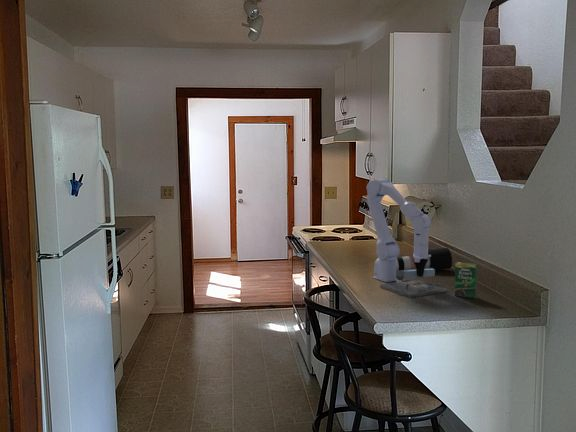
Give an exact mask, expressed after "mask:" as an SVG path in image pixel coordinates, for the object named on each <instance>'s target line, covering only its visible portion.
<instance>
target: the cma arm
mask: <svg viewBox="0 0 576 432" xmlns="http://www.w3.org/2000/svg"><path fill="white" fill-rule="evenodd" d="M435 273H436V271H435V269H432V268H430V269H424V274H423V277H422V278H425V277H435V275H436V274H435ZM396 278H397V279H413V278H414V279H415V278H419V277H418V276H417V271H416V270H397V271H396Z"/></svg>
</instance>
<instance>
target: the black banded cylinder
mask: <svg viewBox="0 0 576 432" xmlns="http://www.w3.org/2000/svg"><path fill="white" fill-rule="evenodd" d="M428 255H431V257H427V258H424V259H428V262H427V264H426V266H425V269H430V268H432V269H435V272H436V271H441V270H450V269H452V266H453V256H452V253H451V250H450V249H449V248H448V247H441V248H433V249H432V248H431V249H428ZM413 259H414V256H413V254H411V255H407V256H406V255H405V256H400V257H397V259H396V271H397V270H416V266H415V264H414V262H413Z"/></svg>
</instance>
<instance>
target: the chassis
mask: <svg viewBox="0 0 576 432" xmlns="http://www.w3.org/2000/svg"><path fill="white" fill-rule="evenodd" d="M403 279H404V278H403ZM403 279H397V281H392V282H386V283H382V284H380V285H379V286H380V288H381V289H384V290H387V291H390V292H392V293H396V294H398V295H401V296H404V297H408V298H409V299H410V298H411V299H412V298H417V297H423V296H427V295H433V294H440V293H444V292H447V290H448V289H447V287H446V288H445V287H443V286H441V285H440V286H439V285H437V284H433V283H430V282H426V281H423V280H420V279H416V278H414V279H413V278H411V279H407V280H403Z"/></svg>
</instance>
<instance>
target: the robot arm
mask: <svg viewBox="0 0 576 432" xmlns="http://www.w3.org/2000/svg"><path fill="white" fill-rule="evenodd" d="M365 187H366V191H367V197H366V198H367V199H366V201H367V205H368V206H367V207H368V210H369V211H370V215H371V219H372V222H373V225H374V230H375V232H376V236H377V242H376V244H375V246H376V247H375V248H376V250H375V251H376V256H377V257H378V258H376V260H375V261H374V271H373V272H374V276H372V279H375V280H376V279H377V280H378V281H379V280H380V281H382V282H385V283H391V282H397V278H396V259H397V258H398V256H399V255H400V253H401V249H400V245H398V243H397V241H396V239H395V238H394V237H392V236H391V233H390V229H389V225H388V222H387V218H386V216H385V212H384V210H383V205H382V203H381V202H382V200H383V198H384V197H385V196H388V197H389V198H391V200H392V201H394V202H395V203H396V205H399V207H401V208H400V209H401V210H400V211H401V212H402V214H403V215H404V216H405V217H406V218H408V220H409V221H410V222H411V225H412V228H413V232H414V235H413V236H414V237H413V238H414V239H413V253H412V255H413V256H414V259H413V262H414V264H415V266H416V271H417V276H418V277H417V278H424V277H423V274H424V269H425V266H426V264H427V262H428V259H424V258H427V257H431V255H428V250H429V235H430V234H429V232H430V227H431V226H432V220H433V219H432V218H431V216H430V215H429V214H426V213H424V211H421V210H420V208H419V207H418V206H417V204H416V203H415V202H413V201H408V200H406V199H405V197H404V196H403V194H401V193H400V192H399V190H398V189H397V188H396V187H395V185H394V183H393V182H392V181H390V179H388V178H377V179H376V178H373V179H371V180H369V182H368V183H367V184H366V186H365Z"/></svg>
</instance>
